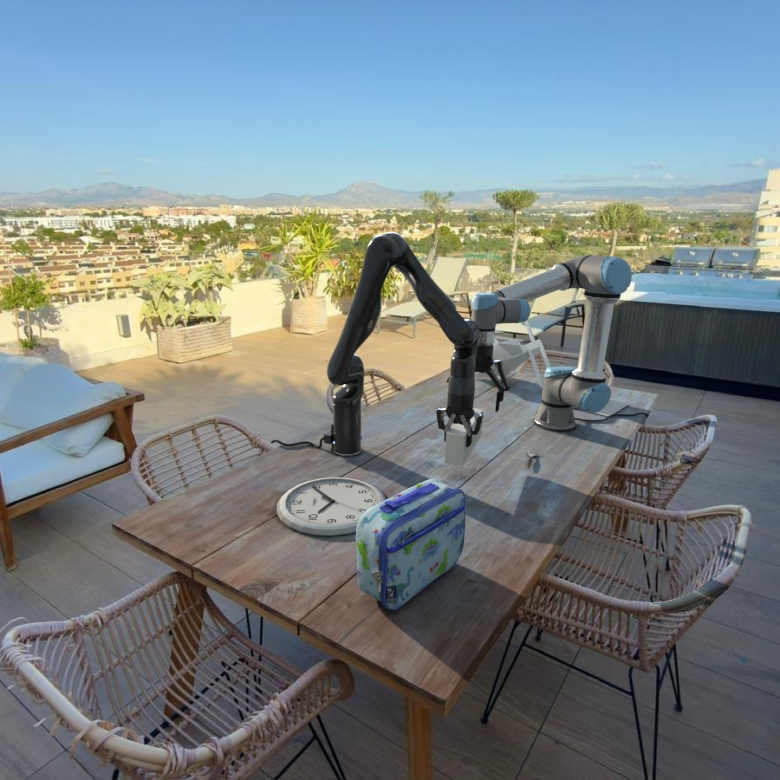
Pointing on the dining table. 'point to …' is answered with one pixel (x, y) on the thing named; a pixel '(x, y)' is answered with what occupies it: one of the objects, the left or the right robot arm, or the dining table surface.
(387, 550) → the lunch box
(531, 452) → the fork
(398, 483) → the dining table surface
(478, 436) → the bar
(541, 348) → the white plastic object
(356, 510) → the wall clock
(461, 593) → the dining table surface
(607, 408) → the invitation card
